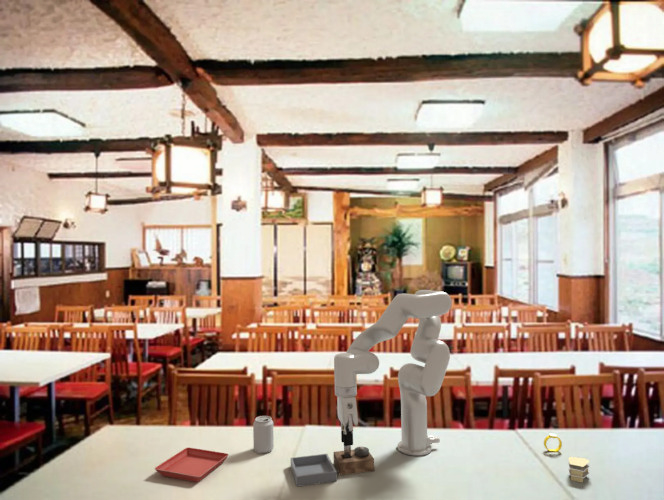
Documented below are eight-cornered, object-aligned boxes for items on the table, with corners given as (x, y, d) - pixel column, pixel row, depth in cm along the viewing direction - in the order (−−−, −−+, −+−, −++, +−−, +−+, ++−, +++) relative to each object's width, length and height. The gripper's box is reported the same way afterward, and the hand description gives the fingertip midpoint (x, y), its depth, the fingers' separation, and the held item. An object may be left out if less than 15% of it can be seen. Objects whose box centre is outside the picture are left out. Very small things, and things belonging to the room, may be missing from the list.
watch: (546, 452, 166) (545, 436, 166) (542, 449, 169) (542, 433, 169) (562, 452, 166) (562, 436, 166) (559, 449, 169) (559, 433, 169)
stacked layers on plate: (594, 488, 141) (593, 471, 141) (561, 481, 146) (561, 464, 146) (595, 475, 150) (595, 458, 150) (564, 468, 154) (564, 452, 154)
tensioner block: (366, 459, 163) (366, 441, 163) (374, 470, 154) (374, 452, 154) (333, 463, 160) (333, 445, 160) (340, 475, 152) (339, 456, 152)
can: (269, 455, 168) (269, 422, 168) (250, 453, 169) (250, 421, 169) (276, 446, 175) (275, 415, 175) (257, 445, 176) (257, 414, 177)
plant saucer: (229, 462, 163) (229, 452, 163) (199, 486, 146) (199, 476, 146) (187, 455, 169) (187, 446, 169) (153, 478, 152) (153, 468, 152)
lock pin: (350, 456, 158) (349, 427, 158) (351, 459, 156) (351, 429, 156) (343, 457, 158) (342, 428, 158) (345, 460, 155) (344, 430, 156)
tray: (327, 462, 161) (327, 453, 161) (336, 481, 148) (336, 471, 148) (290, 466, 158) (290, 457, 158) (296, 486, 145) (296, 476, 145)
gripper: (363, 396, 150) (364, 451, 150) (349, 382, 166) (351, 433, 166) (340, 398, 148) (342, 454, 148) (329, 384, 164) (331, 435, 164)
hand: (347, 443), depth 157 cm, fingers closed on lock pin, 2 cm apart
